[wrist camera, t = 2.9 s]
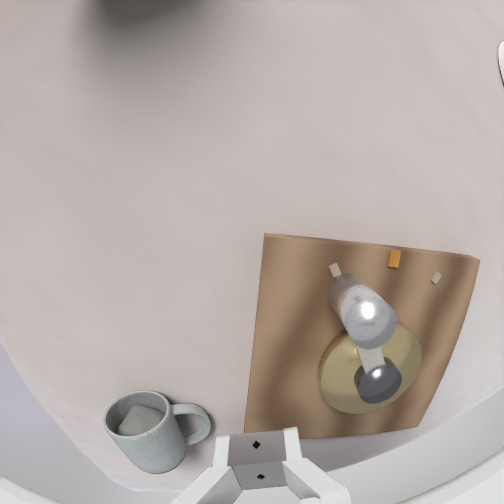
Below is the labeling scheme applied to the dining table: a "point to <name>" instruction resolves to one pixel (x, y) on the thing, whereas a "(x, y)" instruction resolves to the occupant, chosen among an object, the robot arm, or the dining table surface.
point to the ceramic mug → (152, 430)
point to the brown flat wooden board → (329, 326)
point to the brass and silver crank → (366, 350)
